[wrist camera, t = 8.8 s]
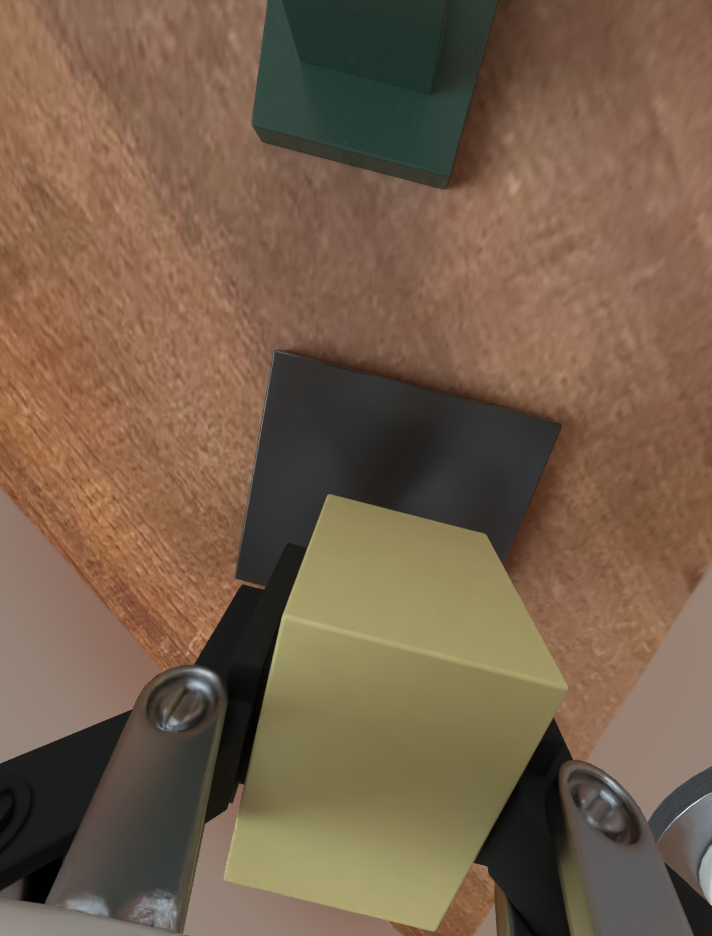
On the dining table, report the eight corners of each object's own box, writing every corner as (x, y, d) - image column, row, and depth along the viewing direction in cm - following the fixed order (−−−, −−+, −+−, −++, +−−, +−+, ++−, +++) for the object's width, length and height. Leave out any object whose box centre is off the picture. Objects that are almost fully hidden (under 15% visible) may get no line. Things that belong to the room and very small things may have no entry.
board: (553, 420, 16) (563, 424, 15) (468, 626, 20) (472, 640, 19) (279, 349, 16) (273, 349, 15) (241, 568, 20) (233, 579, 19)
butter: (486, 533, 9) (571, 689, 5) (416, 711, 11) (436, 934, 7) (327, 492, 9) (282, 615, 5) (283, 678, 11) (222, 881, 7)
